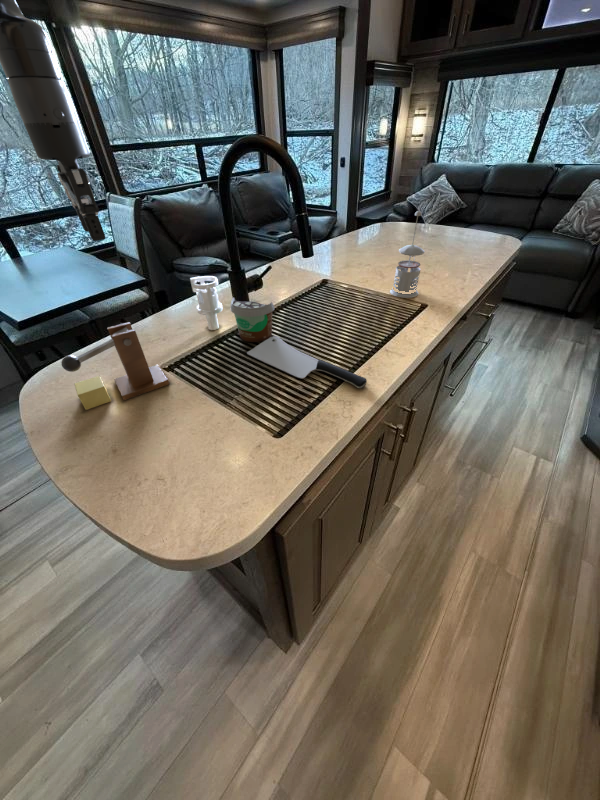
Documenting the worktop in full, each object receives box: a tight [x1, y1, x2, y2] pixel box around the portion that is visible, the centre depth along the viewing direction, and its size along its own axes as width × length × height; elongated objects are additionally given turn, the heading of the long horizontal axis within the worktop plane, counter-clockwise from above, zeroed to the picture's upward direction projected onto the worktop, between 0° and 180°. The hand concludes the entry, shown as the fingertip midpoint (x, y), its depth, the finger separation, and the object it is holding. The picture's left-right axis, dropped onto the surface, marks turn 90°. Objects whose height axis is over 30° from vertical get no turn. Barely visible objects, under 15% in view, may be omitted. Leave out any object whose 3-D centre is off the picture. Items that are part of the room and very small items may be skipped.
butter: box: [74, 375, 112, 411], centre depth 71 cm, size 5×5×4 cm
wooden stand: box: [106, 321, 170, 401], centre depth 72 cm, size 10×8×14 cm
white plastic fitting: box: [189, 275, 224, 331], centre depth 93 cm, size 7×7×15 cm
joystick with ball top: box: [61, 327, 128, 373], centre depth 67 cm, size 14×3×3 cm, turn 125°
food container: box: [230, 297, 275, 343], centre depth 89 cm, size 12×6×10 cm, turn 71°
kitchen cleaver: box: [246, 335, 368, 389], centre depth 80 cm, size 31×2×10 cm
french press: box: [389, 210, 426, 299], centre depth 108 cm, size 10×12×25 cm
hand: (95, 235), depth 61 cm, fingers open, 8 cm apart
